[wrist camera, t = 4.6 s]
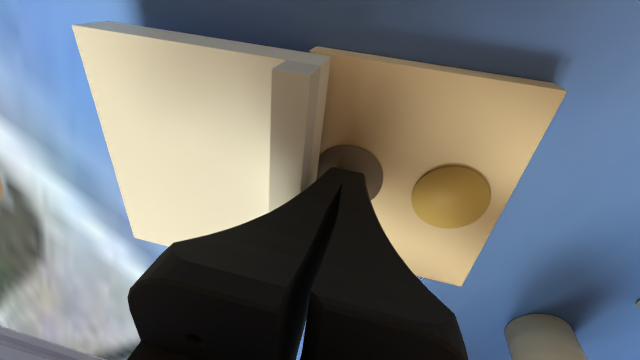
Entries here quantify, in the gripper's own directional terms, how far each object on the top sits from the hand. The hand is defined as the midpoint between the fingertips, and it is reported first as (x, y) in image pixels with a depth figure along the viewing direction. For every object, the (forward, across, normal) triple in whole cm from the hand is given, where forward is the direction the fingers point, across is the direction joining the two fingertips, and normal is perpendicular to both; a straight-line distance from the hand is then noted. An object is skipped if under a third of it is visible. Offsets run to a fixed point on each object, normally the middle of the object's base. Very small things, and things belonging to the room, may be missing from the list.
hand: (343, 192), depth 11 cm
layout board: (+2, -2, 0) cm, 3 cm away
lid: (+1, +5, 0) cm, 5 cm away
